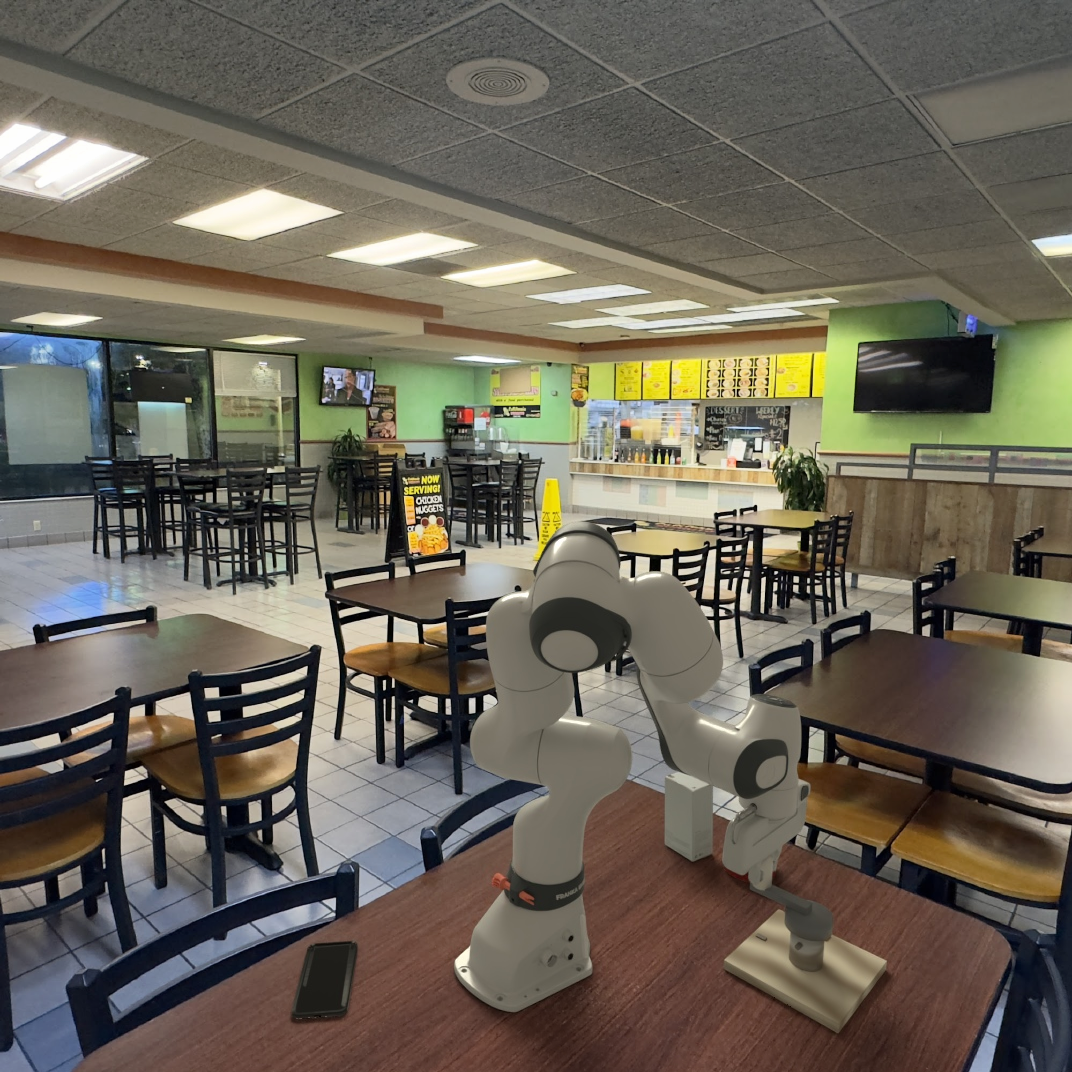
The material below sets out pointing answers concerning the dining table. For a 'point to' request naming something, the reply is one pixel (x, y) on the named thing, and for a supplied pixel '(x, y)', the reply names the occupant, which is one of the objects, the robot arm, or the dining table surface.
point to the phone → (326, 980)
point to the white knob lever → (796, 908)
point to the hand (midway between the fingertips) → (762, 875)
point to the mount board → (807, 971)
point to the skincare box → (688, 816)
